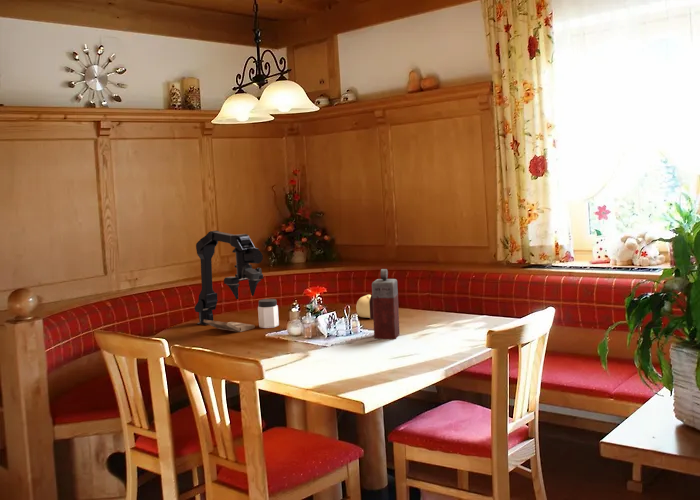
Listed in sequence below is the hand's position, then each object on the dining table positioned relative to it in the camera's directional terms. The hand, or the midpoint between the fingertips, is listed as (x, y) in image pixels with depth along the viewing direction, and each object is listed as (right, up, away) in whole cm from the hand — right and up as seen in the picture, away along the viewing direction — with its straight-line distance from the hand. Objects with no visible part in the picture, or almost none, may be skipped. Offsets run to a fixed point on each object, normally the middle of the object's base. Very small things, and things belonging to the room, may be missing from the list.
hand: (245, 297), depth 343 cm
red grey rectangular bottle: (+61, -15, -26) cm, 68 cm away
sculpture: (+56, -11, +16) cm, 59 cm away
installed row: (-5, -14, +6) cm, 16 cm away
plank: (-11, -13, -1) cm, 17 cm away
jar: (+10, -14, +7) cm, 18 cm away
